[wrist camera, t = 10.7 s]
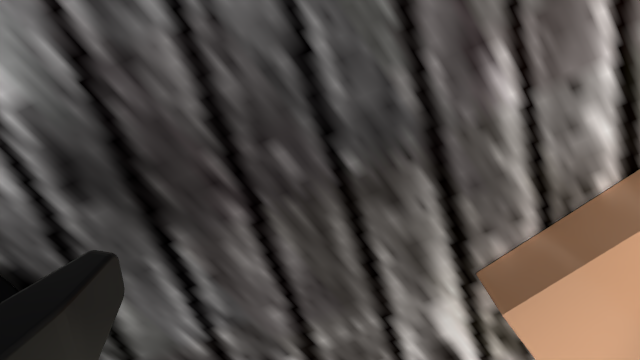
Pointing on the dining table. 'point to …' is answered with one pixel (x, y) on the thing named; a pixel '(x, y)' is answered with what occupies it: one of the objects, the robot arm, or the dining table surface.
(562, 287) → the terracotta plinth
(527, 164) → the dining table surface
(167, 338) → the dining table surface
